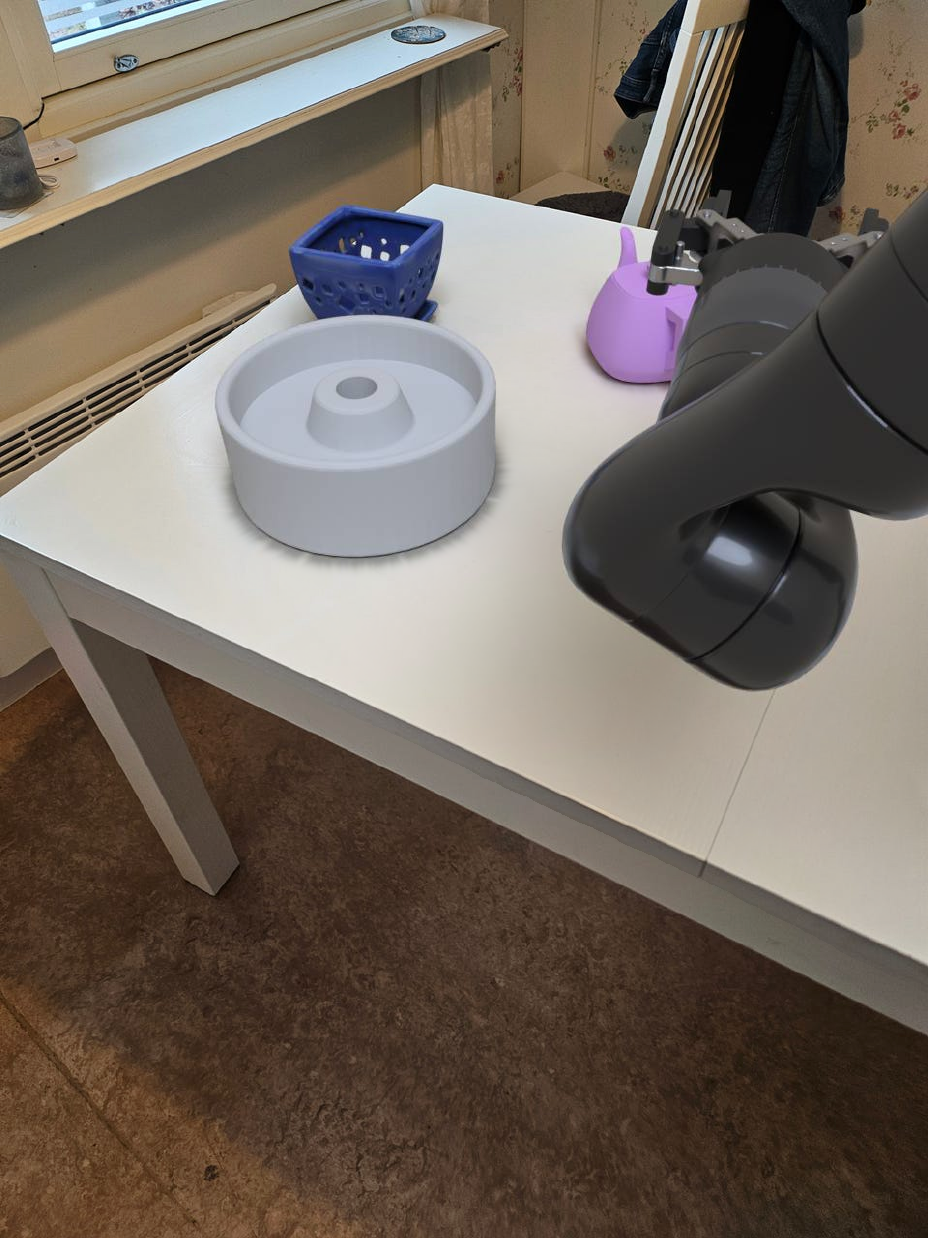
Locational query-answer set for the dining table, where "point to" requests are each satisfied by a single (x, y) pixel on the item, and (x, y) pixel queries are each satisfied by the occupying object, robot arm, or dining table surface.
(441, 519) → the container
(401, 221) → the flower pot
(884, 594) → the dining table surface
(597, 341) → the teapot
